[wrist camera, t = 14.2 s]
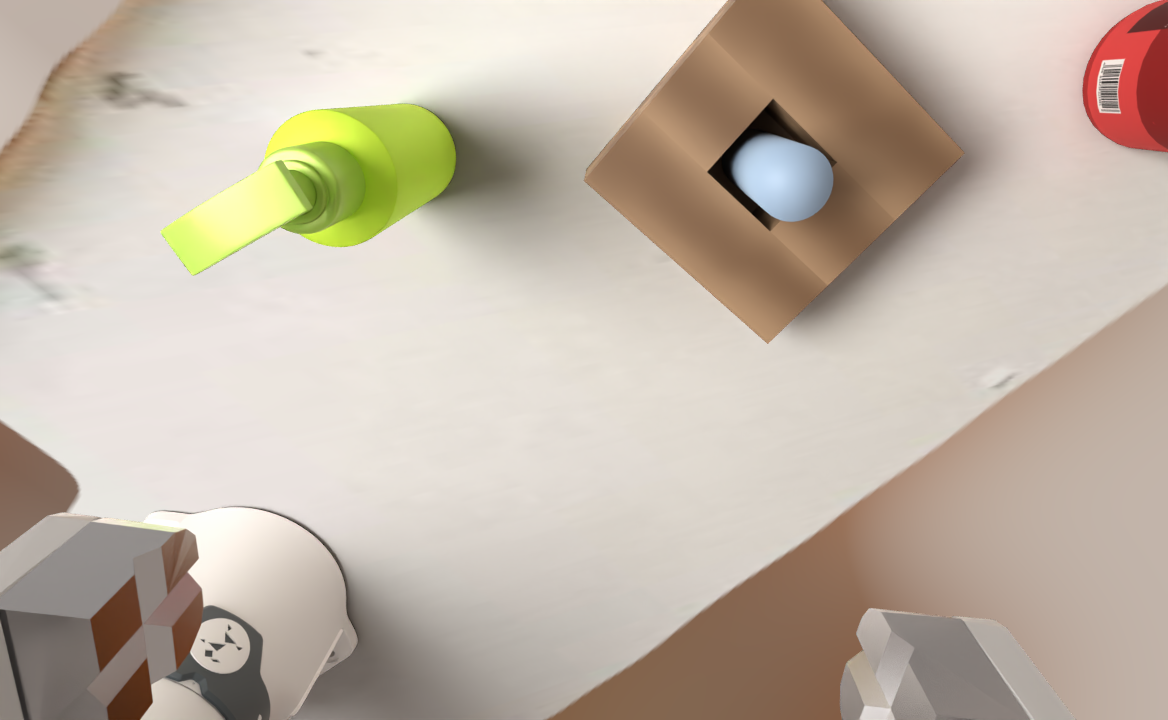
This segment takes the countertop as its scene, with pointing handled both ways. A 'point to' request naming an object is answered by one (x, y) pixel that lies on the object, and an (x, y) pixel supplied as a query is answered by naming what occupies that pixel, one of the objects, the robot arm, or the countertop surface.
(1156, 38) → the canned food
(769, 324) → the socket block
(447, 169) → the soap dispenser
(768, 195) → the dowel
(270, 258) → the countertop surface
